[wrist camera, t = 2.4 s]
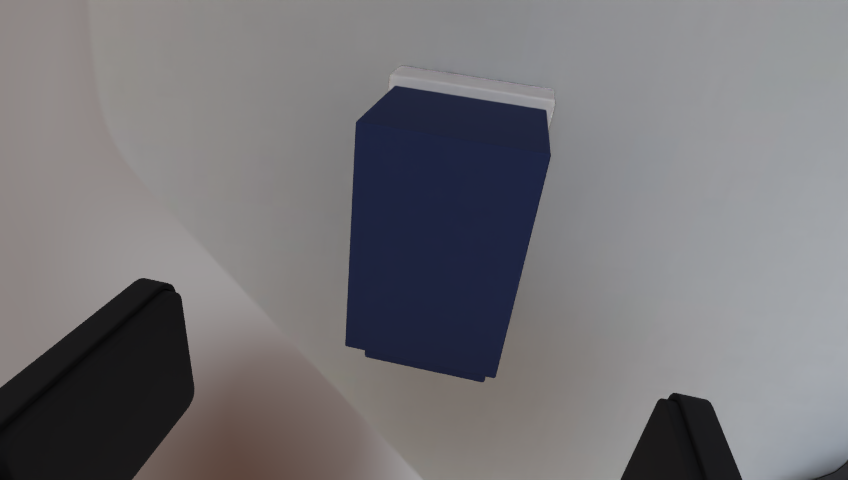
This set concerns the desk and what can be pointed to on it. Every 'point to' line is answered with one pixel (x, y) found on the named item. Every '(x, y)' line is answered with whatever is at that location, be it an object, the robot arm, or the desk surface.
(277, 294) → the desk surface
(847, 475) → the jigsaw machine
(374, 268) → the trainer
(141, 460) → the robot arm
